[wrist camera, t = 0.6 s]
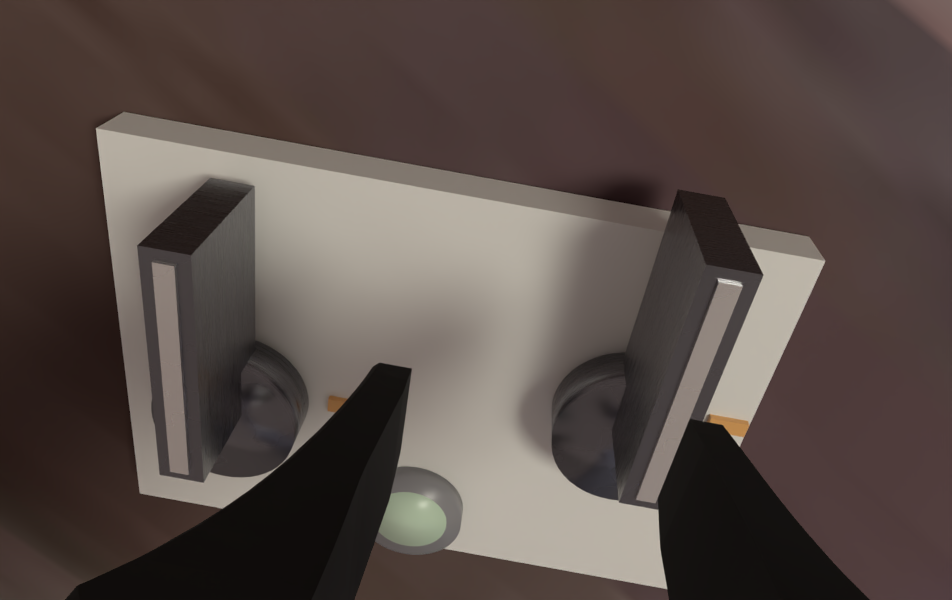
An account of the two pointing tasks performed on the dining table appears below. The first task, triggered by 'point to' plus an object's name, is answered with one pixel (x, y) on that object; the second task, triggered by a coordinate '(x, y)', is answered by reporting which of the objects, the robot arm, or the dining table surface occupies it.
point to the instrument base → (437, 327)
